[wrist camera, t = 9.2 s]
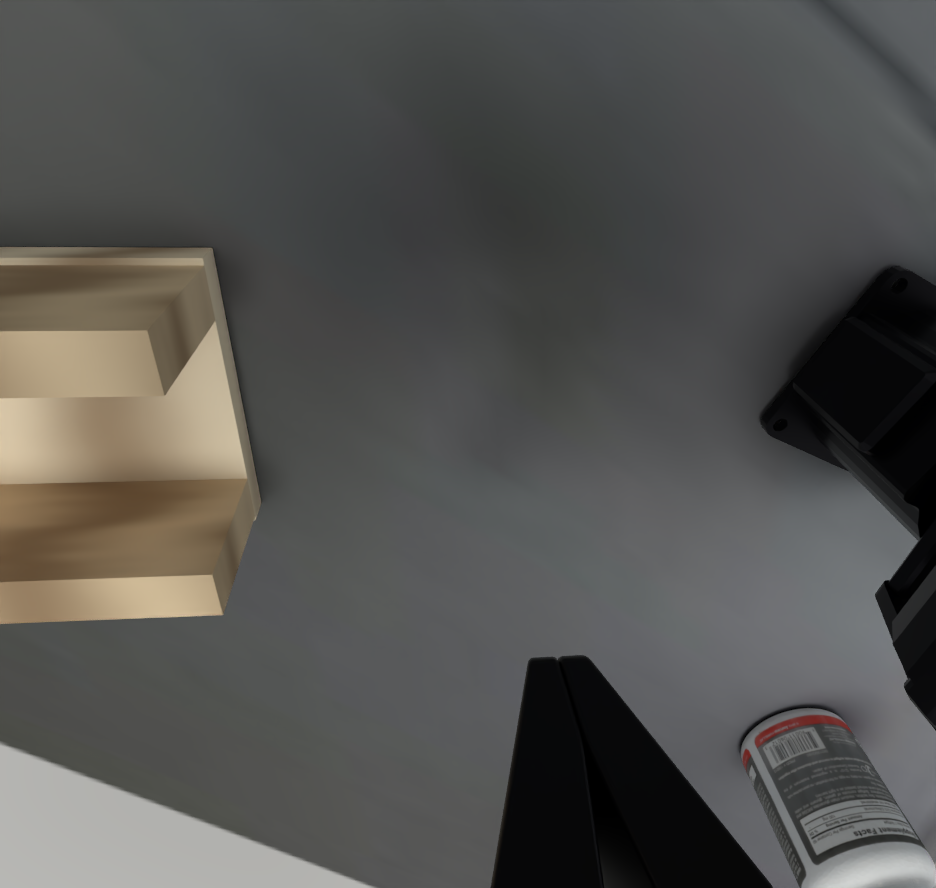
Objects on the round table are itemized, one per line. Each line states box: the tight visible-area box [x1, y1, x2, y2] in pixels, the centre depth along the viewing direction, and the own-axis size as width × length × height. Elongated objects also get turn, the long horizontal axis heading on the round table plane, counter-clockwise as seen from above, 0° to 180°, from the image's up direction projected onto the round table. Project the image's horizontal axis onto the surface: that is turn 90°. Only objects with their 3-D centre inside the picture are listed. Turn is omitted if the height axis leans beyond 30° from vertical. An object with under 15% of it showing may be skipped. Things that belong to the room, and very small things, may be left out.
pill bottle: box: [741, 708, 936, 888], centre depth 30 cm, size 6×6×10 cm
